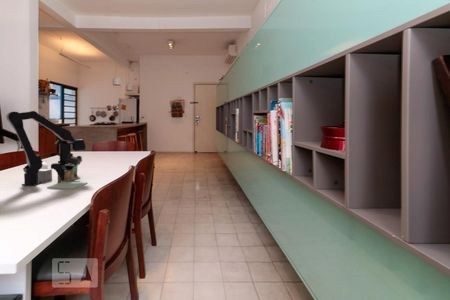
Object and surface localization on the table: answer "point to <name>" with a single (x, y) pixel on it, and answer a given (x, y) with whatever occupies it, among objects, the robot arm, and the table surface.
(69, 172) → the tan cube
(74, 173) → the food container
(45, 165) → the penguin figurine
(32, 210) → the table surface
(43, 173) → the medium grey block
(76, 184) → the sage mat
